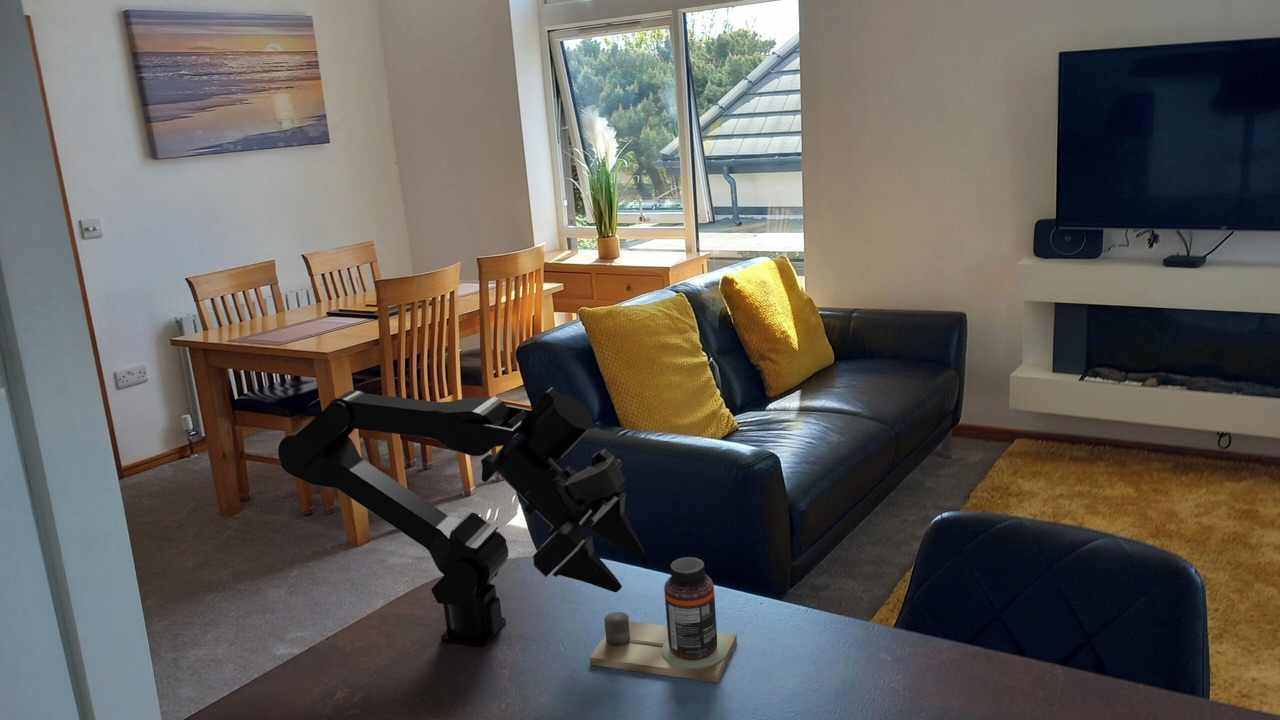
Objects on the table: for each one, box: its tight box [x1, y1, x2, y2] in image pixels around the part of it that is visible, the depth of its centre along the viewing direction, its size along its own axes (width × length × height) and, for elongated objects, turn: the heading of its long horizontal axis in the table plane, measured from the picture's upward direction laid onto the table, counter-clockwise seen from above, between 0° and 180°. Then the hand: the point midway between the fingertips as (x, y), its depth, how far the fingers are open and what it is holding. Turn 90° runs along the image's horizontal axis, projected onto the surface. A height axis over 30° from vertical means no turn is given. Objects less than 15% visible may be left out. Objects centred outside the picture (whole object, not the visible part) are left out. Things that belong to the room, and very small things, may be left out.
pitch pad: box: [662, 635, 728, 669], centre depth 118 cm, size 8×8×1 cm
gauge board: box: [589, 611, 738, 684], centre depth 120 cm, size 16×9×4 cm, turn 70°
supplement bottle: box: [663, 556, 718, 660], centre depth 117 cm, size 6×6×11 cm
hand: (631, 571), depth 119 cm, fingers open, 9 cm apart
